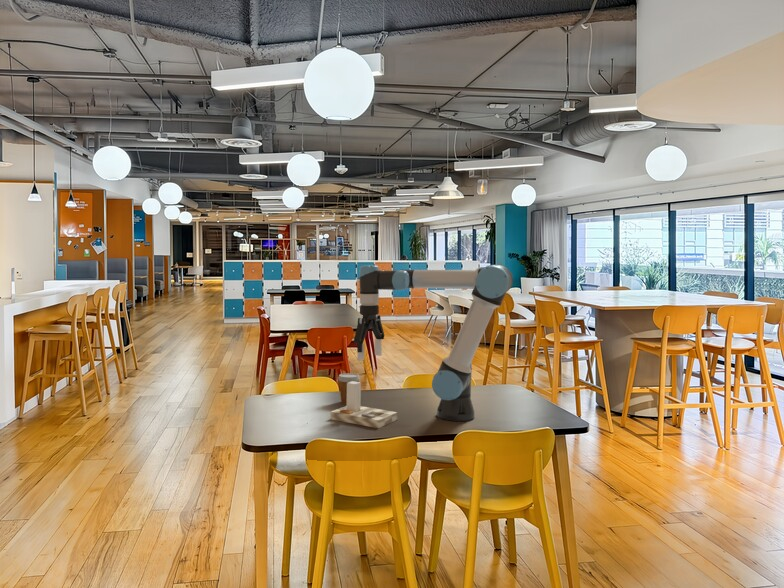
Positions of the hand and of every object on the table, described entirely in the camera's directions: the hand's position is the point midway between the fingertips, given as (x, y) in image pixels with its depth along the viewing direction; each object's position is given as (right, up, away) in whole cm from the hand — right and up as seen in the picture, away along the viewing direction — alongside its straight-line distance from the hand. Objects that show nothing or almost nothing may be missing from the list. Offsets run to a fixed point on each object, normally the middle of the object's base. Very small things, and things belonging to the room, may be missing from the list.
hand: (369, 357), depth 246 cm
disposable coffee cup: (-10, -22, +23) cm, 34 cm away
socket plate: (-2, -24, -3) cm, 24 cm away
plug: (-7, -24, -1) cm, 24 cm away
